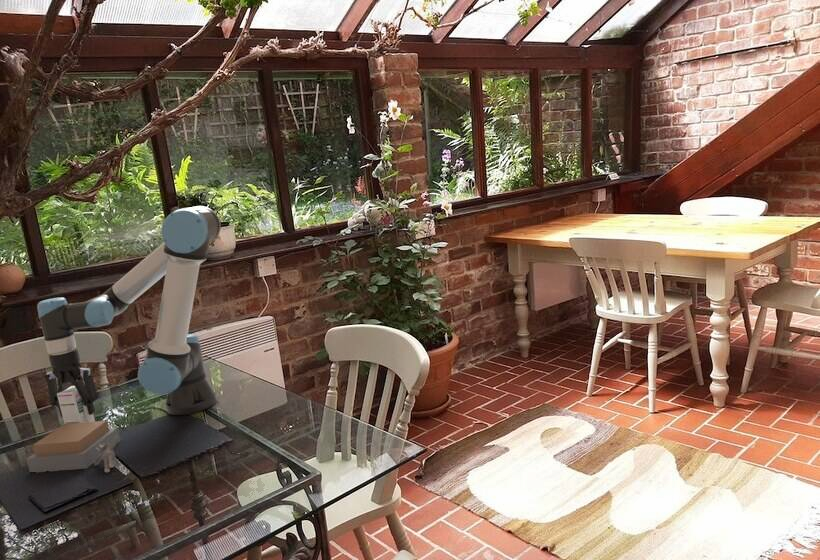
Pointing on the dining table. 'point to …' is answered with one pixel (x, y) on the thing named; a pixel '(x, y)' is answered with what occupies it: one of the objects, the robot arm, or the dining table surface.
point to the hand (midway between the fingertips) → (80, 425)
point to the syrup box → (71, 406)
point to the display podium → (71, 447)
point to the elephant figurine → (107, 454)
